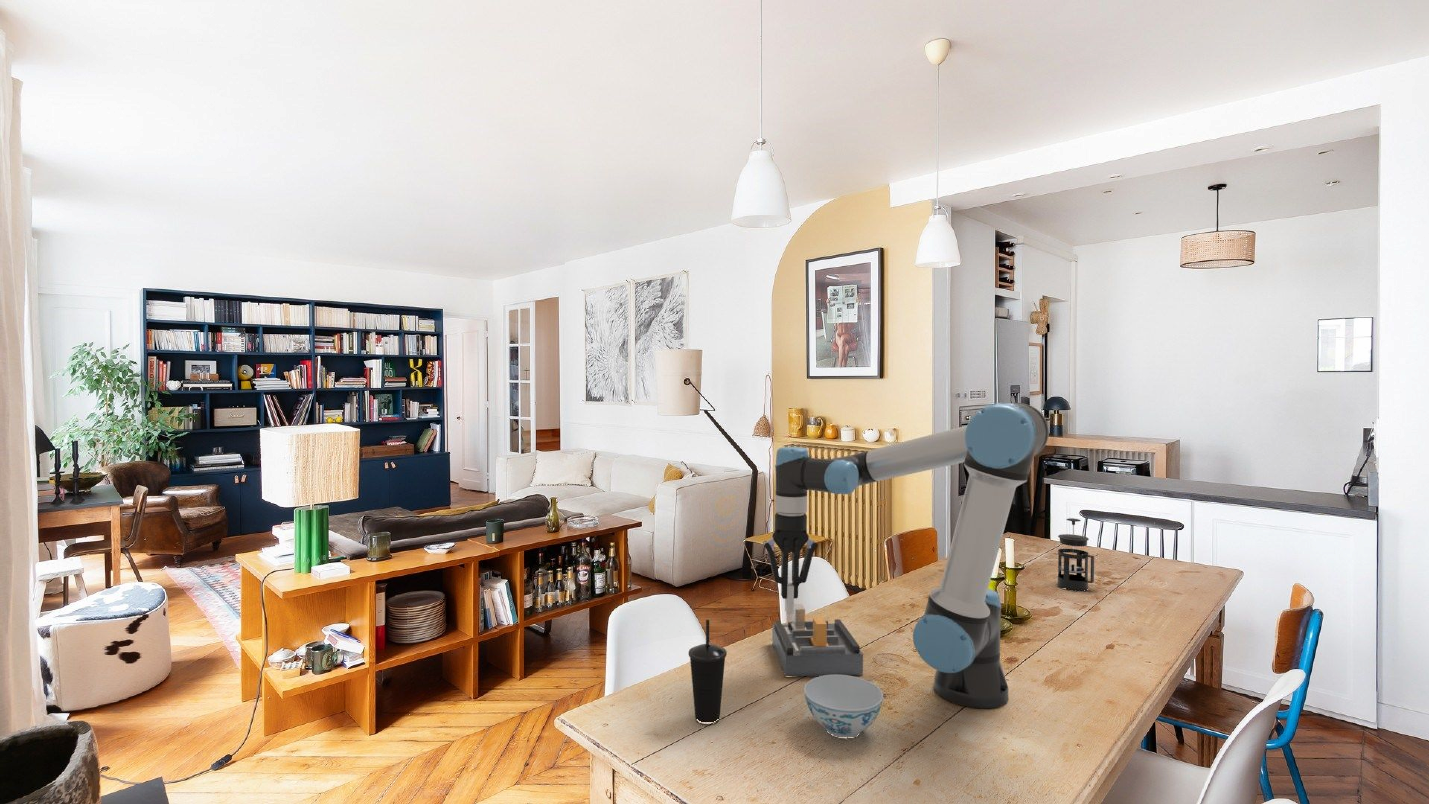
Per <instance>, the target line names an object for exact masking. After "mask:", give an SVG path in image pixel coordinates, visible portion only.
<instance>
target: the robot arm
mask: <svg viewBox="0 0 1429 804" xmlns="http://www.w3.org/2000/svg"><path fill="white" fill-rule="evenodd" d="M1049 433H1050V429H1049V424H1048V421H1047V419H1046V417H1045V416H1044V415H1043V413H1042V412H1041V411H1040V410H1038V408H1035V406H1032V405H1030V404H1026V403H1023V402H1010V403H1009V402H997V403H992V404H989V405H987V406H985V407H983V408H981V409H979V410H978V411H977V412H975V414H974V415H973V416H972V417H971V418H970V420H969V421H968V423H967V425H964V426H961V427H956V428H952V429H949V430H945V431H940V432H937V433H936V432H935V433H932V434H928V435H925V436H921V437H917V438H914V439H909V440H906V441H902V442H901V441H900V442H897V443H894V444H890V445H885V446H883V447H878V448H874V449H871V450H868V451H862V452H859V453H855V454H850V455H846V456H840V457H833V458H819V457H817V458H815V457H810V456H809V451H808V448H806V447H799V446H783V447H779V448H778V449H777V450H776V454H775V455H776V456H775V464H774V468H775V495H774V496H775V500H774V501H775V502H774V503H775V504H774V510H775V514H774V531H773V533H772V536H771V538H770V539H768V540H764V541H763V543H762V544H763V546H764V548H765V549H766V551H767V554H768V559H769V563H770V564H769V565H770V567H771V572H772V576H773V580H774V581H775V583H777V584H780V586H781V587H780V588H781V589H780V595H781V597H782V599H783V600H785V604H784V605H785V607H784V609H785V612H786V614H788V615H790V614H791V615H793V612H794V601H795V600H794V599H798V597H799V587H800V584H805V583H806V582H807V579H808V575H809V572H810V567H811V565H812V564H811V563H812V559H813V557H814V553H815V551H816V550H817V548H818V547H819V545H818V543H817V542H816V541H815V540H812V539H811V538H809V537H810V536H809V534H808V532H807V531H808V529H807V524H808V523H807V522H808V515H807V514H806V513H807V512H808V491H813V492H815V491H816V492H820V493H821V492H822V493H830V494H834V495H851V494H852V493H854V491H855V490H856V489H857V487H860V486H864V485H868V484H872V483H873V484H874V483H876V482H879V481H880V482H881V481H885V480H889V479H894V478H899V477H903V476H907V475H913V474H916V473H921V472H926V471H931V470H936V469H940V468H944V467H949V466H954V465H957V464H962V463H963V466H964V468H965V469H966V471H967V473H968V479H967V484H966V488H965V491H964V493H963V498H962V501H961V505H960V509H959V513H958V517H957V521H956V524H955V528H954V532H953V536H952V541H951V544H950V547H949V551H948V555H947V559H946V561H945V562H946V563H945V565H944V569H943V574H942V577H941V580H940V585H939V586H936V587H934V588H932V589H931V590H930V591H929V595H928V599H927V603H926V606H925V610H924V614H923V616H921V617H919V619H918V620H917V622H916V624H915V626H914V628H913V632H912V641H913V645H914V648H915V650H916V651H917V653H918V655H919V657H920V658H921V660H923V662H924V663H925V664H927V665H928V666H929V667H931V668H932V669H934V670H936V671H935V675H934V678H933V679H934V680H933V682H934V683H933V687H934V691H935V692H936V693H937V694H938V695H939V696H940V697H941V698H943V699H945V700H946V701H948V702H951V703H953V704H956V705H960V706H964V707H968V708H975V709H993V708H999V707H1001V706H1004V705H1005V704H1007V703H1008V701H1009V685H1008V682H1007V680H1006V675H1005V673H1004V670H1003V667H1002V664H1001V615H1002V614H1001V610H1002V605H1001V596H1000V594H999V593H998V592H996V591H995V590H993V589H990V588H989V586H990V584H991V583H990V582H991V579H992V575H993V571H994V568H995V564H996V560H997V557H998V554H999V550H1000V547H1001V543H1002V540H1003V537H1004V536H1003V535H1004V531H1005V528H1006V524H1007V521H1008V518H1009V514H1010V510H1011V507H1012V503H1013V500H1014V497H1015V493H1016V489H1017V487H1019V486H1021V485H1022V484H1024V483H1027V482H1028V478H1029V475H1030V473H1031V472H1030V471H1031V468H1032V465H1033V461H1034V459H1035V458H1034V457H1035V456H1037V455H1039V453H1041V451H1043V449H1044V448H1045V446H1046V445H1047V443H1048V441H1049V440H1048V439H1049ZM775 544H776V546H777V547H778V549H779V550H780V551H781V552H780V554H781V559H780V560H781V564H780V567H781V569H780V573H779V569H778V564H777V560H776V555H775V551H774V548H775ZM804 547H806V550H805V554H804V556H803V560H802V565H801V569H800V553H801V550H802V549H803V548H804ZM790 553H791V582H789V555H790Z"/></svg>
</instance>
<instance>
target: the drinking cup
mask: <svg viewBox="0 0 1429 804" xmlns="http://www.w3.org/2000/svg"><path fill="white" fill-rule="evenodd" d="M727 653H728V652H727V649H725V647H722V646H720V645H718V644H717V645H716V644H713V643H710V620H709V619H706V620H705V643H702V644H698V645H696V646H693V647H691V648H689V650H688V657H689V661H690V672H691V683H692V684H691V685H692V695H693V696H692V697H693V706H694V707H693V708H694V717H695V718H696V719H698V720H699V721H701V722H714V721H716V720H717V719H719V717H721V706H722V696H723V682H724V675H725V674H724V672H725V663H726V662H725V661H726V657H727ZM696 719H695V720H696ZM719 720H720V719H719Z"/></svg>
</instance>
